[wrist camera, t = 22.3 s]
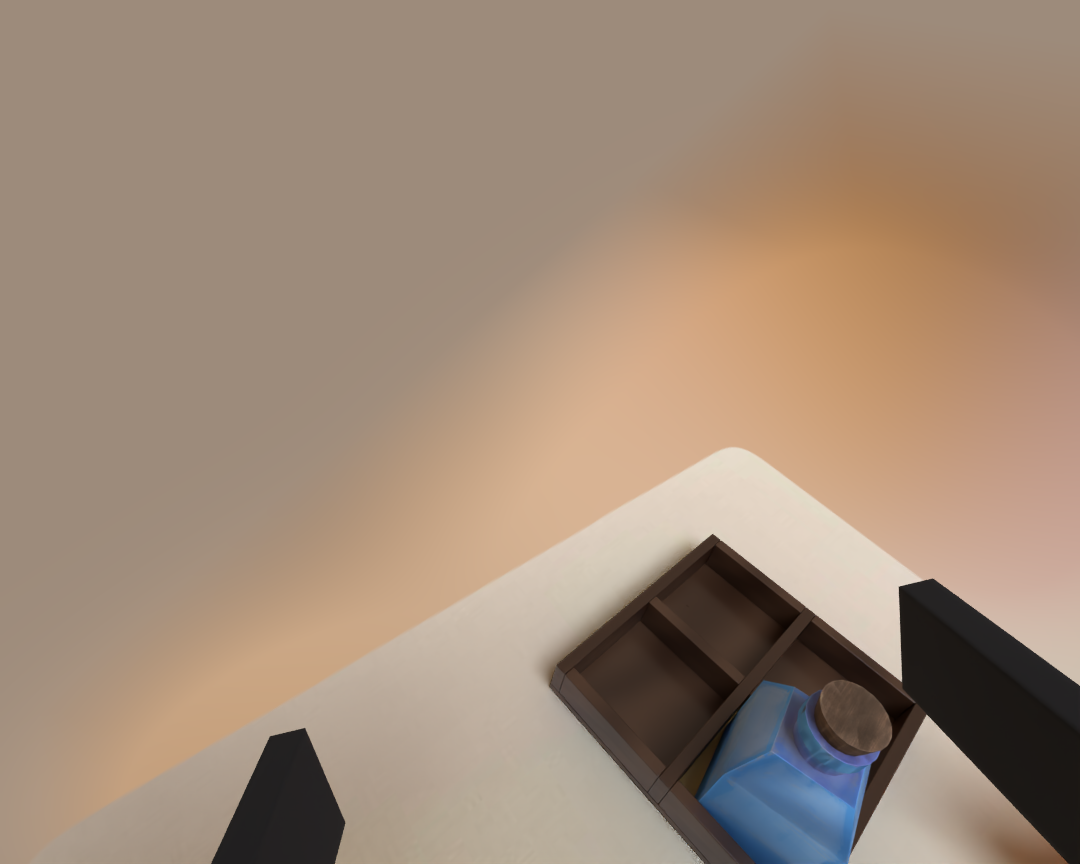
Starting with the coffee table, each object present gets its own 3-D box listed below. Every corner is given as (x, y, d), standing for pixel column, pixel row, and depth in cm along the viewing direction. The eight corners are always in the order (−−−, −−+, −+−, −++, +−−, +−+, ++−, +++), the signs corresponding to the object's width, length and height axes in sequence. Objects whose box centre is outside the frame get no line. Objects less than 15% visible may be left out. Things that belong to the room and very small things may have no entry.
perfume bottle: (792, 896, 31) (917, 826, 23) (686, 814, 33) (768, 725, 25) (821, 792, 35) (936, 703, 27) (726, 725, 37) (807, 626, 30)
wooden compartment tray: (549, 686, 38) (556, 664, 37) (700, 556, 48) (712, 533, 46) (780, 949, 30) (805, 938, 28) (906, 724, 40) (932, 705, 38)
